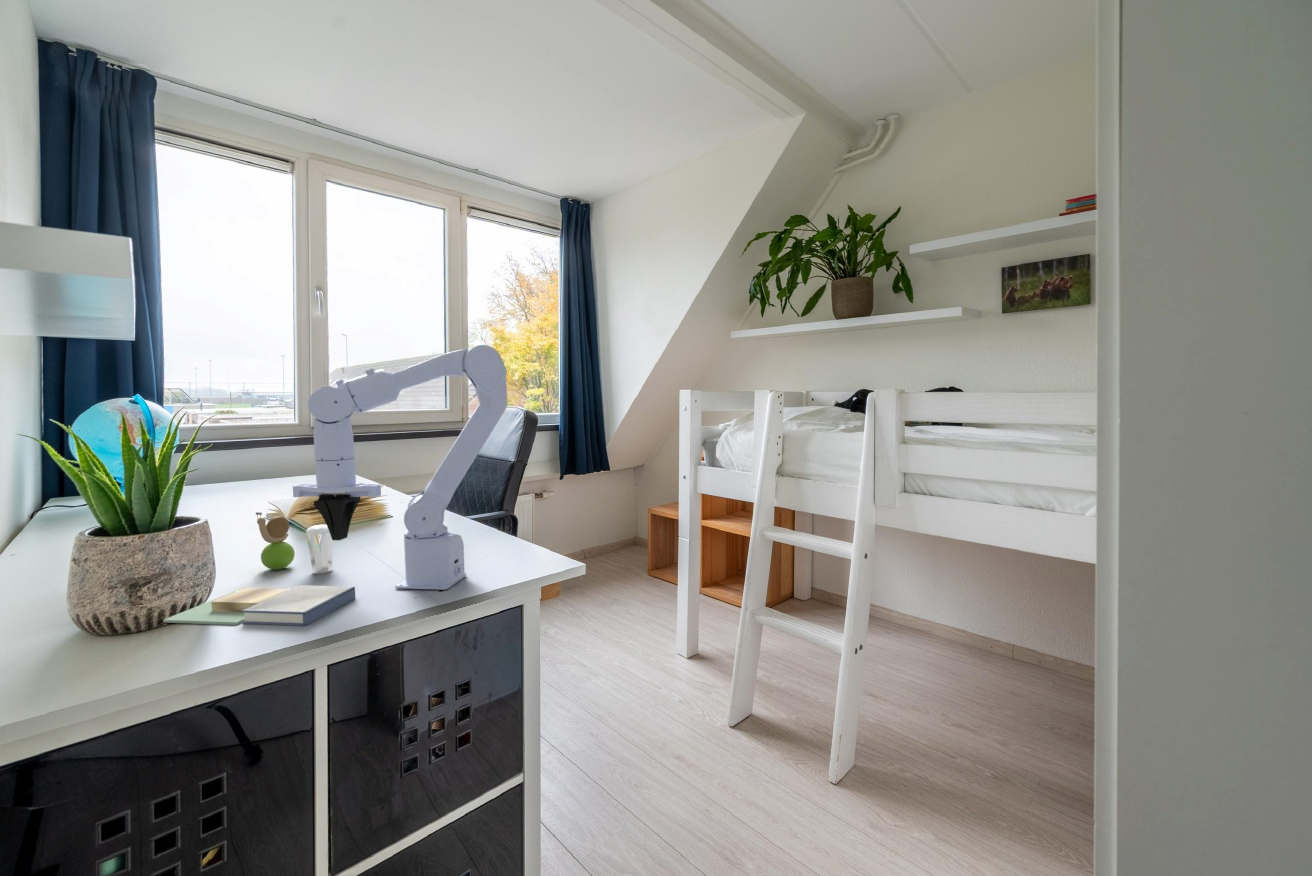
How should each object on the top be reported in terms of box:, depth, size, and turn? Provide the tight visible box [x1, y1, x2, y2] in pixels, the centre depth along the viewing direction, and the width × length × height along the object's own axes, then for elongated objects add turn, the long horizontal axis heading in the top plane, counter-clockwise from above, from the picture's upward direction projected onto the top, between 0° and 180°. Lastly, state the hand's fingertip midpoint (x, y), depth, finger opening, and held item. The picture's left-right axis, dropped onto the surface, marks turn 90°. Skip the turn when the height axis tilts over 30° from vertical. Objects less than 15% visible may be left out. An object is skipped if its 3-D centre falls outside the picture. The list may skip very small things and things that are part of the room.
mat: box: [163, 591, 245, 626], centre depth 86 cm, size 12×12×1 cm
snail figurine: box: [255, 511, 296, 571], centre depth 105 cm, size 5×6×12 cm
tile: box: [211, 587, 289, 612], centre depth 86 cm, size 8×6×2 cm
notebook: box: [242, 584, 356, 627], centre depth 85 cm, size 10×11×2 cm
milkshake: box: [305, 523, 334, 575], centre depth 104 cm, size 5×5×10 cm
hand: (339, 538), depth 92 cm, fingers closed
